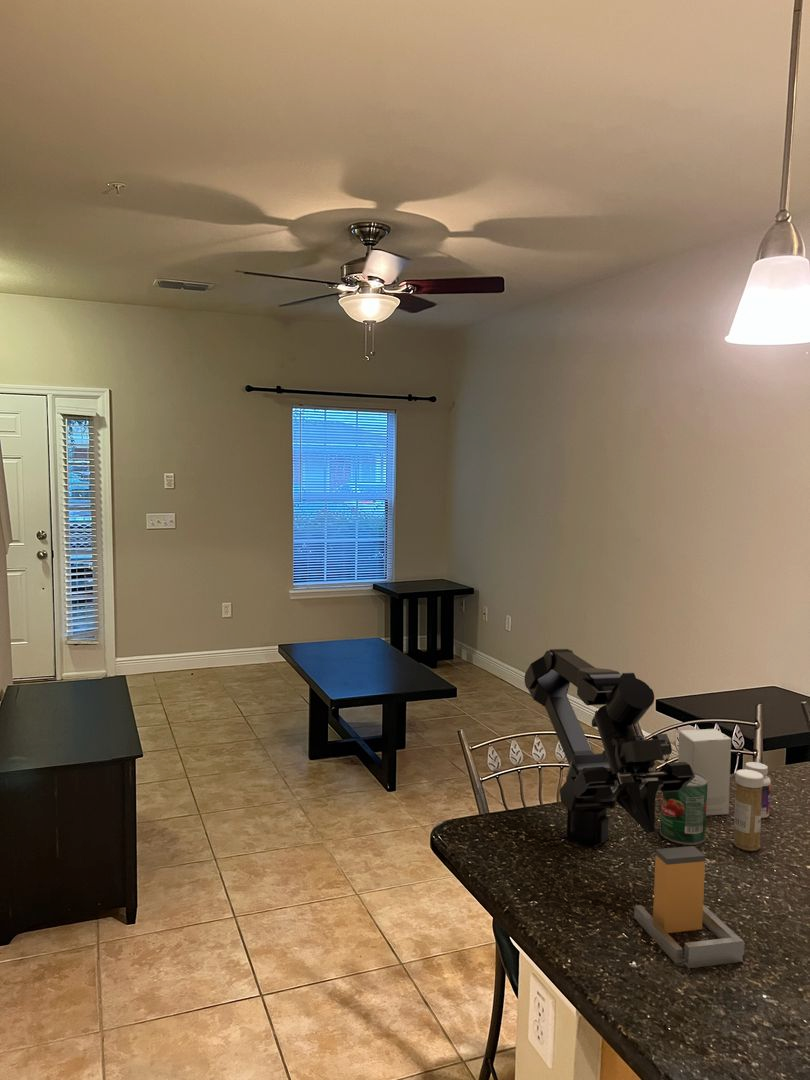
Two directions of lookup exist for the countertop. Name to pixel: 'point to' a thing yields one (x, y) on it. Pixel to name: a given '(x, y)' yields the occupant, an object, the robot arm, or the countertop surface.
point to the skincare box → (709, 764)
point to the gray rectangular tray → (698, 952)
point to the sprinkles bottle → (748, 809)
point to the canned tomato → (685, 812)
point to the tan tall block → (679, 888)
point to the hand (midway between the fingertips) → (651, 833)
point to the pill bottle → (765, 788)
